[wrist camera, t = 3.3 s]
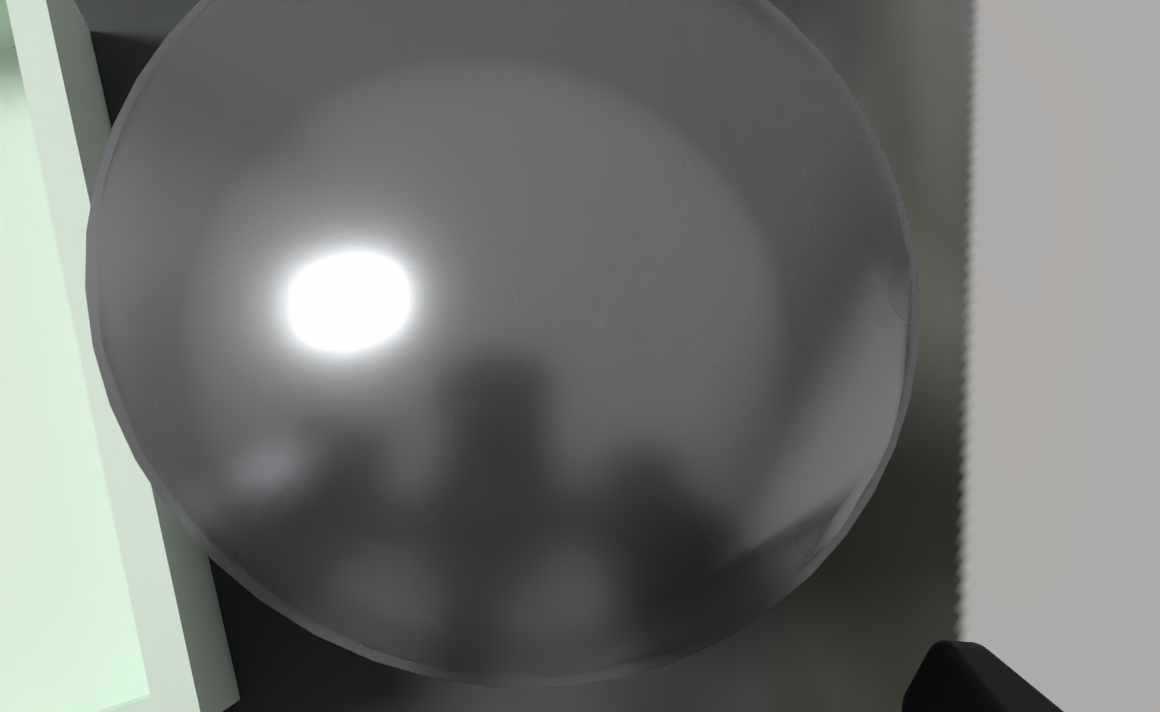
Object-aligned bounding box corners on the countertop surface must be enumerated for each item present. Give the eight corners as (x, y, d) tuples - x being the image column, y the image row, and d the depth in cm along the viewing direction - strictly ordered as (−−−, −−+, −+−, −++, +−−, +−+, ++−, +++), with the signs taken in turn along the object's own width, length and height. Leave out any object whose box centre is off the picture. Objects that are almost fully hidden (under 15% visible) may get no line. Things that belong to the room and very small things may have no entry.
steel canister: (534, 650, 18) (874, 771, 5) (261, 590, 17) (-76, 571, 5) (589, 394, 19) (950, 29, 7) (342, 329, 18) (253, -208, 6)
